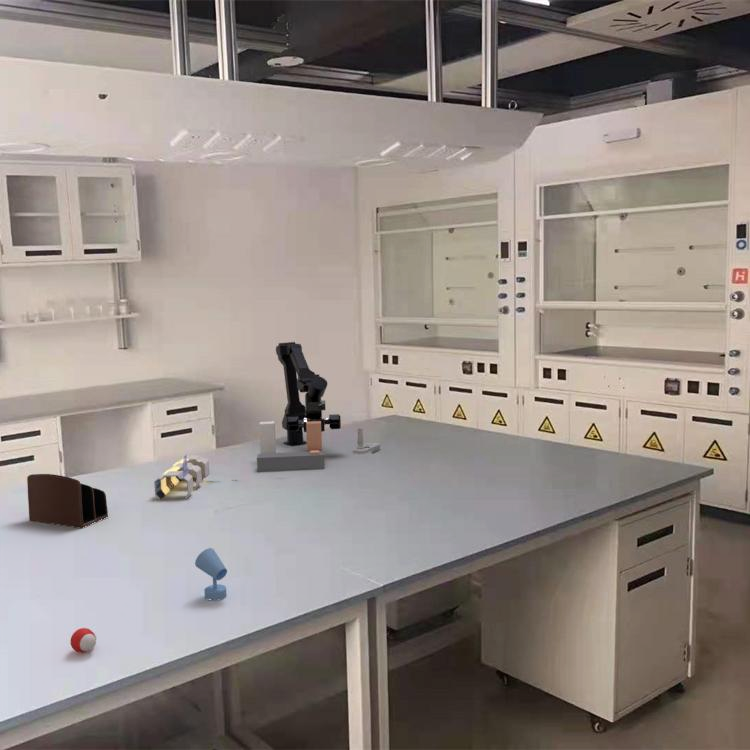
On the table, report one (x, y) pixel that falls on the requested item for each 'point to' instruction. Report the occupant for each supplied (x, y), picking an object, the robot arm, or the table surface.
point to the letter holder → (64, 501)
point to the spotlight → (212, 573)
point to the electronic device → (365, 445)
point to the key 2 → (314, 435)
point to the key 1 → (267, 437)
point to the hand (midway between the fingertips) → (314, 443)
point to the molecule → (83, 640)
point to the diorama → (182, 475)
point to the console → (290, 461)
